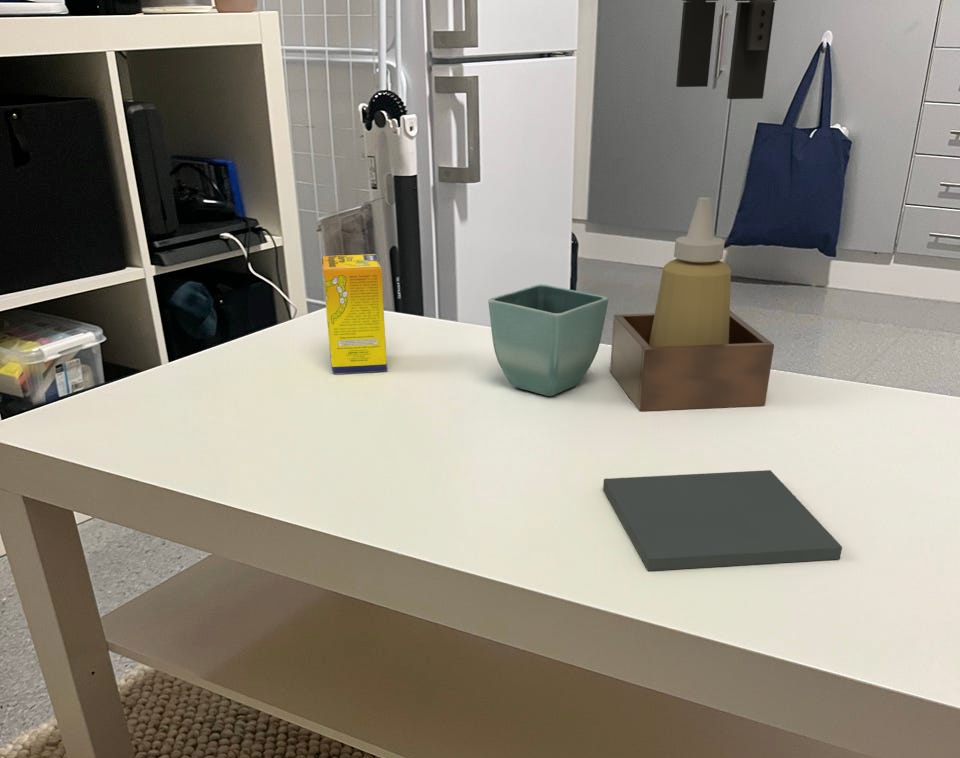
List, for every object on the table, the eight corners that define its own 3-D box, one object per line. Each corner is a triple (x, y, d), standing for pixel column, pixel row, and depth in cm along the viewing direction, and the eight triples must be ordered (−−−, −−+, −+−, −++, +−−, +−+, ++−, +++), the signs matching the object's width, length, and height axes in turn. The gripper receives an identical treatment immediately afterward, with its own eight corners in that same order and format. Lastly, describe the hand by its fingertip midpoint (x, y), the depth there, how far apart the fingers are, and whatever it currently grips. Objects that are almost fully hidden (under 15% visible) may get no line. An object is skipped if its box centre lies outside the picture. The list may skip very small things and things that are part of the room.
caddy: (723, 366, 110) (730, 310, 106) (765, 405, 99) (774, 344, 96) (609, 371, 108) (613, 314, 105) (639, 411, 98) (645, 349, 95)
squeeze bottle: (634, 394, 102) (650, 201, 92) (657, 371, 108) (674, 189, 99) (713, 405, 99) (738, 208, 90) (732, 381, 105) (757, 195, 96)
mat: (768, 481, 84) (770, 469, 83) (840, 559, 72) (842, 546, 71) (602, 489, 82) (603, 478, 82) (647, 571, 70) (649, 558, 70)
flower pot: (605, 385, 104) (611, 295, 100) (555, 407, 99) (559, 314, 94) (537, 368, 109) (539, 282, 104) (485, 389, 103) (485, 299, 99)
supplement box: (329, 358, 112) (320, 255, 107) (383, 355, 113) (377, 253, 107) (331, 375, 108) (322, 267, 102) (387, 372, 108) (382, 265, 102)
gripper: (654, -205, 85) (635, 82, 96) (764, -273, 64) (723, 105, 75) (740, -204, 86) (711, 81, 97) (877, -270, 65) (819, 103, 76)
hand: (716, 92), depth 86 cm, fingers open, 13 cm apart
